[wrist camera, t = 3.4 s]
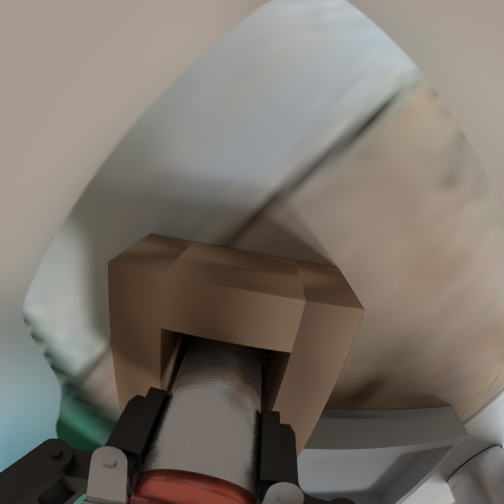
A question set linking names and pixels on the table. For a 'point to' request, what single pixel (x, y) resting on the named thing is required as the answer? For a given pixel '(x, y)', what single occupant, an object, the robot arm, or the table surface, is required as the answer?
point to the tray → (377, 452)
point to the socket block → (231, 320)
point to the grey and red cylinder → (207, 430)
